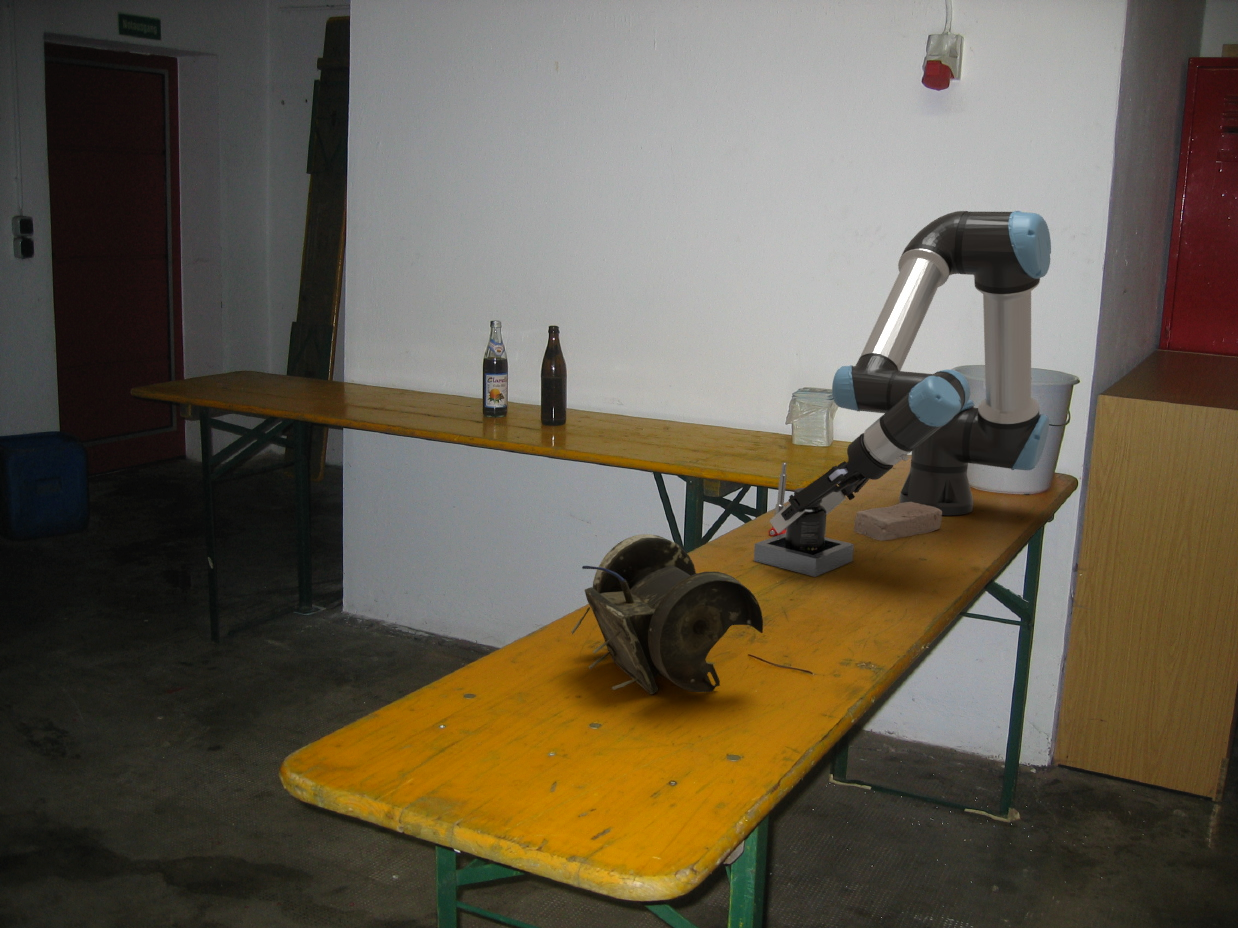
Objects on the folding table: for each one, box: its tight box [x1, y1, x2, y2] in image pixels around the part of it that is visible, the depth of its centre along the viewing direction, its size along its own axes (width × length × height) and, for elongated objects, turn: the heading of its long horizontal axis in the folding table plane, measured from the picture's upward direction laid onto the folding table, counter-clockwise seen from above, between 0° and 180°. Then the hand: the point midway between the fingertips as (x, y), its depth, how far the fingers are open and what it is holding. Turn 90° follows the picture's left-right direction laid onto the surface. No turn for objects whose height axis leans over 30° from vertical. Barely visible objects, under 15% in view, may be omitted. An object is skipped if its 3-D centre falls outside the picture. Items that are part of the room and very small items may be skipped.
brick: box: [853, 502, 943, 542], centre depth 213 cm, size 17×8×5 cm, turn 123°
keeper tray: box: [753, 533, 855, 577], centre depth 192 cm, size 12×12×3 cm
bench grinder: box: [570, 533, 764, 695], centre depth 140 cm, size 20×22×20 cm
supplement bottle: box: [785, 487, 828, 555], centre depth 190 cm, size 7×7×12 cm
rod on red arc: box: [768, 462, 788, 537], centre depth 207 cm, size 9×14×10 cm
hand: (796, 519), depth 192 cm, fingers open, 13 cm apart
